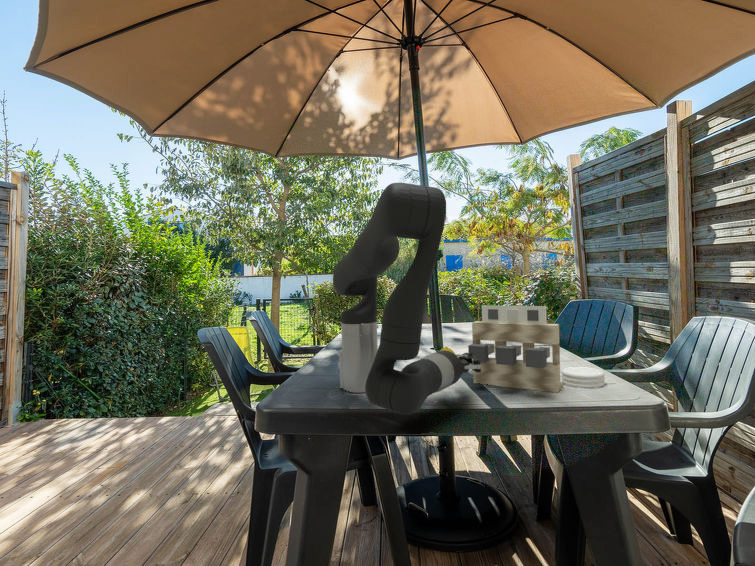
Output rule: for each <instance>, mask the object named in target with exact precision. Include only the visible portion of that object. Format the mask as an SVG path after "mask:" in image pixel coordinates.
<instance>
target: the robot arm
mask: <svg viewBox="0 0 755 566" xmlns="http://www.w3.org/2000/svg"><path fill="white" fill-rule="evenodd" d="M376 203H377V204H376V205H375V208H374V210H373V212H372V215H371V216H370V219H369V221H368V222H367V224H366V225H365V228H363V229H362V231H361V232H360V234H359V235H358V237H357V239H356V240H355V242H354V243H353V244H352V247H351V248H350V249H349V251H348V252H347V254H345V256H343V257H342V258H341V259H340V260H338V262H337V264H336V265H335V266H334V267H335V268H334V270H333V274H332V283H333V284H332V285H333V287H334V290H335V291H336V293H337V294H338V295H340V296H344V297H361V299H360V301H359V302H358V303H357V304H355V305H353V306H352V307H350V308H348V309H345V310H343V311H342V312H341V313H340V323H341V325H340V327H341V351H339V353H338V358H339V359H338V361H339V362H338V363H339V386H340V387H339V388H343V389H342V390H343V391H345V390H346V391H345V392H348V391H349V392H348V393H356V394H357V393H360V394H361V393H365V394H366V397H367V400H368V401H369V402H370V403H371V404H372V405H374V406H376V407H379V408H382V409H384V410H388V411H391V412H395V413H396V414H399V415H405V416H409V415H413V414H416V413H418V412H419V410H420V409H421V408H422V406H423V404H424V402H425V401H426V400H427V398H428V397H429V396H431V395H433V394H434V393H435V394H436V393H439V392H441V391H443V390H445V389H447V388H449V387H451V386H453V385H454V384H456V383H458V381H459V380H460V379H461V377H462V375H463V374H464V373H469V371H470V370H471V371H472V372H473V371H475V372H477V373H479V372H481V360H479V359H477V358H476V357H474V355H473V354H472V353H469V352H464V353H462V354H460V353H457V354H456V353H455V352H454V353H455V354H454V353H452V352H450V351H446V350H442V351H440V350H439V351H436V352H434V353H433V352H432V353H431V354H428V355H425V356H423V357H421V358H420V359H418V360H415V361H413V362H410V363H409V364H407V365H405V366H404V367H403V368H402V369H401V370H398V369H395V364H396V363H397V361H410V360H414V359H415V358H417V356H418V355H419V352H420V346H421V336H422V329H423V319H424V313H425V305H426V301H427V296H428V292H429V288H430V284H431V280H432V276H433V273H434V270H435V266H436V261H437V258H438V255H439V254H438V253H439V250H440V245H441V241H442V237H443V232H444V229H445V224H446V217H447V200H446V196H445V194H444V192H443V191H442V190H441V189H440V188H437V187H433V186H427V185H421V184H413V183H409V182H408V183H406V182H393V183H392V182H391V183H390V184H388V185H387V186H386V187H385V188H384V189H383V191H382V192H381V194H380V196H379V198H378V200H377V202H376ZM399 238H400V239H409V240H417V241H418V244H417V249H416V253H415V255H414V258H413V261H412V263H411V265H410V267H409V268H408V269H407V271H406V273H405V275H404V276H402V278H401V280H400V281H399V282H398V283H397V285H396V287H394V289H393V290H392V292H391V294H390V295H389V297H388V299H387V301H386V303H385V306H384V309H383V313H382V318H381V319H382V321H381V330H380V338H379V345H378V316H377V315H378V314H377V313H378V276H379V275H381V274H383V273H384V272H385V271H386V272H387V270H388V269H389V268H390V267H391V266H393V264H394V263H395V262H396V260H397V259H398V258H399V253H400V249H401V248H400V242H399Z"/></svg>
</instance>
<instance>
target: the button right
mask: <svg viewBox="0 0 755 566" xmlns="http://www.w3.org/2000/svg"><path fill="white" fill-rule="evenodd" d="M550 357H551V348H550V346H549V347H548V346H539V347H534V348H530V347H529V348H527V349H525V359H526V367H535V368H545V367H546V366H547V362H548V361H547V359H548V358H550Z"/></svg>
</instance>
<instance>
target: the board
mask: <svg viewBox="0 0 755 566" xmlns="http://www.w3.org/2000/svg"><path fill="white" fill-rule="evenodd" d="M471 327H472V328H471V329H472V330H471V332H472V333H471V334H472V337H471V338H472V344H482V343H481V342H482V341H490V342H491V341H492V342H494V348H495V352H494V356H495V357H489V356H488V358H489V361H487V362H485V363H481V372H479V373H477V372H475V371H472V372H473V384H477V383H480V384H479V385H486V384H488V385H487V386H497V387H504V388H512V389H513V388H514V389H520V390H530V391H539V392H545V393H546V392H547V393H555V394H558V393H559V392H560V391H561V390H562V389H563V388H564V384H563V382H562V381H561V354H560V353H561V348H560V324H559V323H547V325H537V324H509V323H482V320H476V321H473V322H471ZM510 342H511V343H522V359H517V363H516V364H514V365H513V366H512V365H501V364H496V347H498V346H508V345H507V344H508V343H510ZM535 344H542V345H551V347H552V348H551V350H552V362H549V361H547V366H546V367H545V368H535V367H526V359H525V349H527V348H529V347H530V348H535Z"/></svg>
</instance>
